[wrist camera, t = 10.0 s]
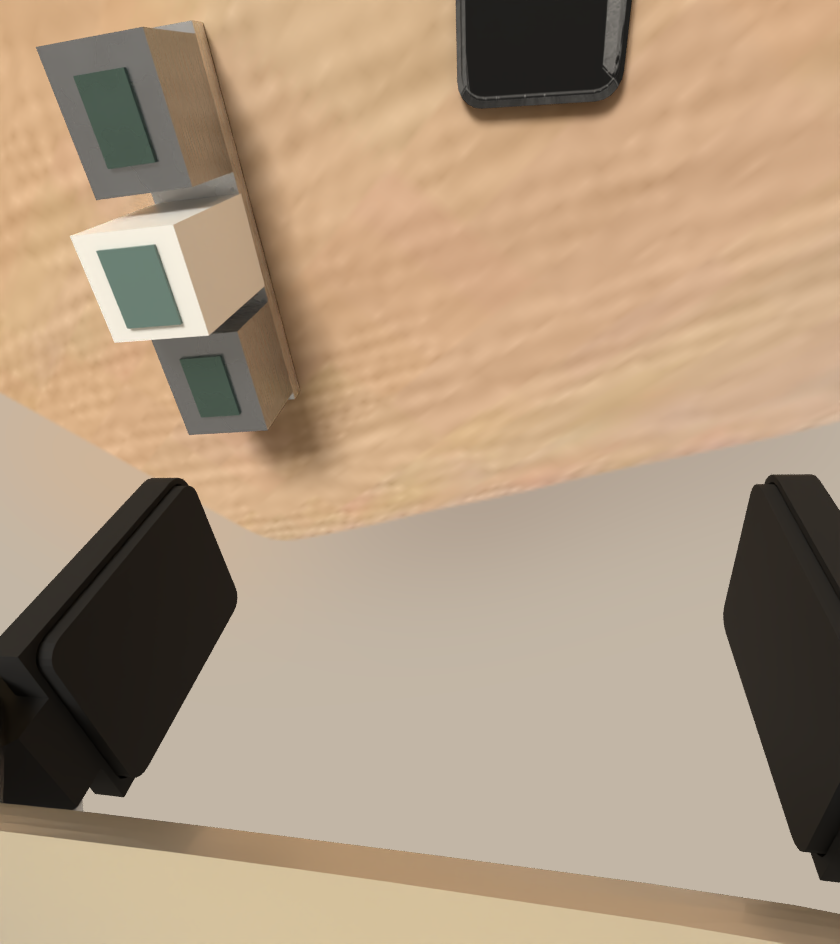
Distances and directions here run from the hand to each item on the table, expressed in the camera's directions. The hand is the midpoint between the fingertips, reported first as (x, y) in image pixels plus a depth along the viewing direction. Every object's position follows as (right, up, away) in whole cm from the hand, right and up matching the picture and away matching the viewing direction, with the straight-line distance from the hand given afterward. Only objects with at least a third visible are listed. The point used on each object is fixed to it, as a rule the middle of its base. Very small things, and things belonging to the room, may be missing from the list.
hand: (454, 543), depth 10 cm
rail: (-12, +15, +25) cm, 31 cm away
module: (-12, +14, +24) cm, 30 cm away
